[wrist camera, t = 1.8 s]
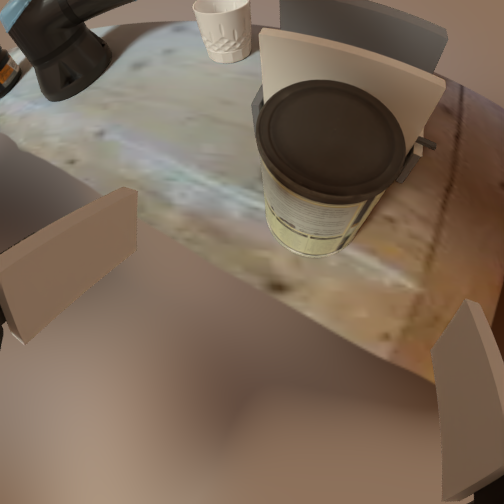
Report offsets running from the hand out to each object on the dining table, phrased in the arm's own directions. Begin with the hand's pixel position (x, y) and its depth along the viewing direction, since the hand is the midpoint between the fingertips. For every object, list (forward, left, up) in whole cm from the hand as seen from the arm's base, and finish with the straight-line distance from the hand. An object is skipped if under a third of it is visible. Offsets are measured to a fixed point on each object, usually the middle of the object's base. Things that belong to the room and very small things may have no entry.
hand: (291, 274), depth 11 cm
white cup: (-34, -19, -20) cm, 44 cm away
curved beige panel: (-20, +1, -19) cm, 27 cm away
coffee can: (-11, 0, -20) cm, 23 cm away
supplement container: (-25, -76, -20) cm, 83 cm away
